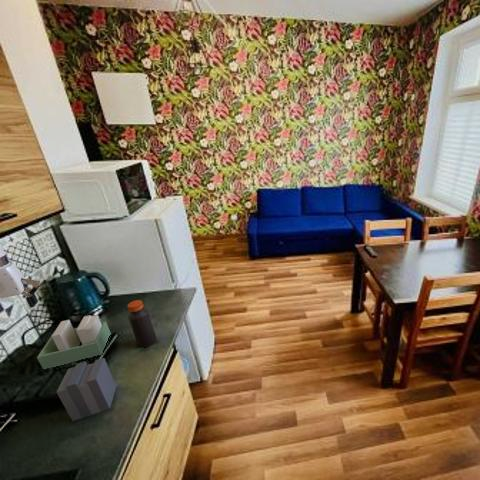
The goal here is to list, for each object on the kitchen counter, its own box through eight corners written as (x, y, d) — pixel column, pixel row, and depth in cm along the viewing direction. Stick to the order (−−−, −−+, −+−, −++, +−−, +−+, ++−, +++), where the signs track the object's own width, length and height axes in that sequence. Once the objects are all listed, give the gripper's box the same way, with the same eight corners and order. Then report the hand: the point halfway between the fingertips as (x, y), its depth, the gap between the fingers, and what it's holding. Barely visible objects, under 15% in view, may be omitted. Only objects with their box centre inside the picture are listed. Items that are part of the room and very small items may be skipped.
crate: (45, 373, 99) (36, 357, 96) (60, 347, 110) (53, 333, 107) (102, 357, 105) (96, 342, 102) (111, 335, 117) (106, 321, 114)
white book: (64, 362, 102) (51, 336, 97) (73, 346, 110) (61, 321, 105) (72, 360, 103) (59, 334, 98) (80, 344, 111) (69, 319, 106)
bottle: (143, 337, 115) (130, 299, 108) (159, 336, 116) (148, 298, 108) (134, 349, 109) (120, 309, 101) (152, 348, 110) (139, 308, 102)
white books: (87, 356, 105) (75, 330, 100) (94, 341, 113) (83, 316, 108) (101, 352, 107) (90, 327, 102) (107, 338, 114) (97, 313, 109)
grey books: (72, 421, 82) (54, 389, 77) (82, 396, 90) (67, 366, 84) (109, 409, 86) (95, 377, 80) (116, 386, 93) (103, 356, 88)
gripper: (-60, 274, 76) (-29, 322, 82) (21, 263, 82) (43, 308, 89) (-41, 263, 82) (-14, 309, 89) (33, 253, 89) (53, 296, 95)
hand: (15, 308), depth 89 cm, fingers open, 9 cm apart
